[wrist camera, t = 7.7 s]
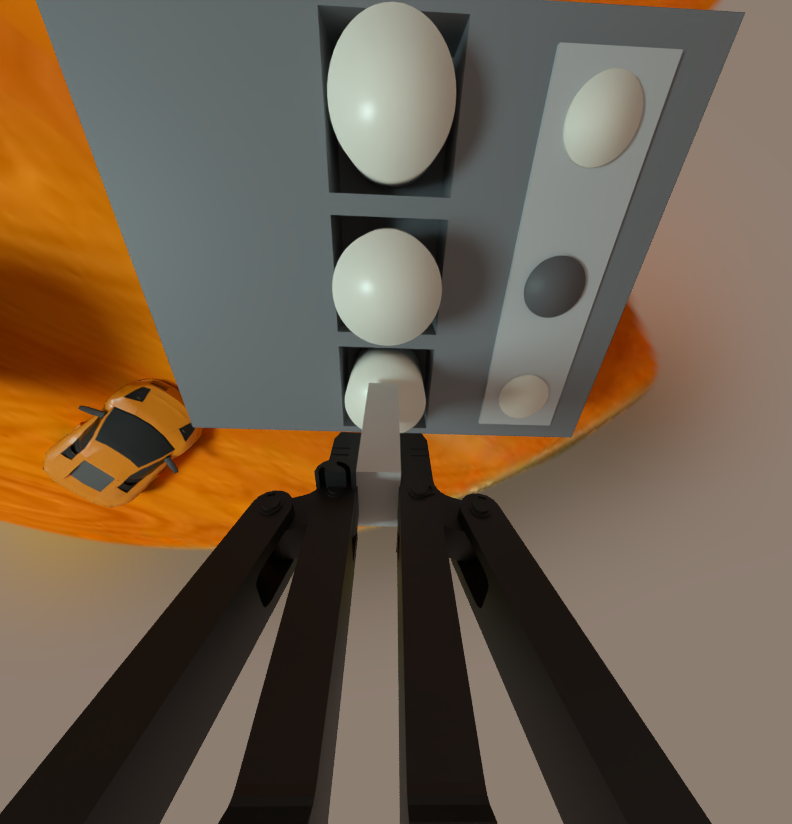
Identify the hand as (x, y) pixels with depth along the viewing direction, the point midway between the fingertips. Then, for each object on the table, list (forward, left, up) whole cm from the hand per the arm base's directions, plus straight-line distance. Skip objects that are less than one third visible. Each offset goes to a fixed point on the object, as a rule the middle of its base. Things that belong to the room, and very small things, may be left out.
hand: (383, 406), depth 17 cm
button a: (0, 0, -5) cm, 5 cm away
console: (0, +6, -6) cm, 8 cm away
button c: (0, +12, -5) cm, 13 cm away
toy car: (-20, -8, -7) cm, 22 cm away
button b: (0, +6, -3) cm, 7 cm away
